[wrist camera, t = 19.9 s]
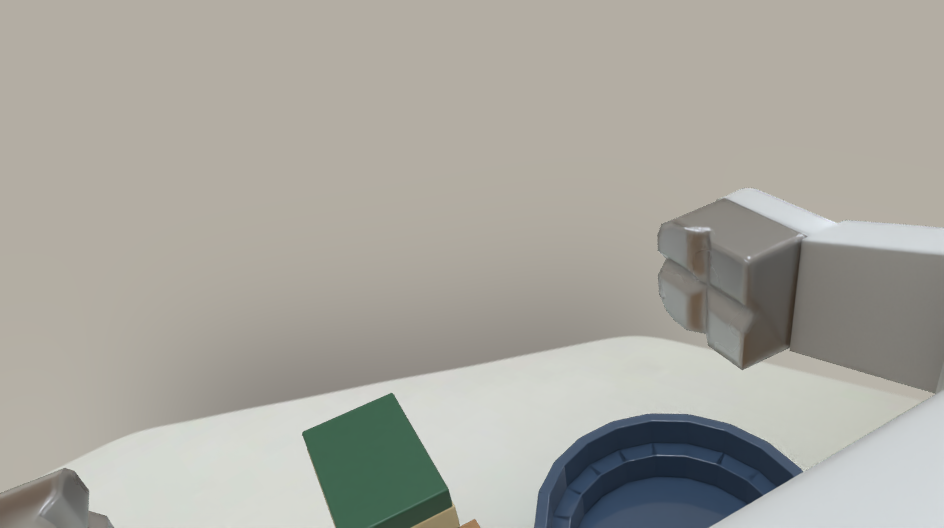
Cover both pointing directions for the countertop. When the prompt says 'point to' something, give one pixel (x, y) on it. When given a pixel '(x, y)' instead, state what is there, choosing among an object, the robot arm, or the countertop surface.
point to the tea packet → (378, 470)
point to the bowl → (659, 475)
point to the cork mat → (470, 524)
